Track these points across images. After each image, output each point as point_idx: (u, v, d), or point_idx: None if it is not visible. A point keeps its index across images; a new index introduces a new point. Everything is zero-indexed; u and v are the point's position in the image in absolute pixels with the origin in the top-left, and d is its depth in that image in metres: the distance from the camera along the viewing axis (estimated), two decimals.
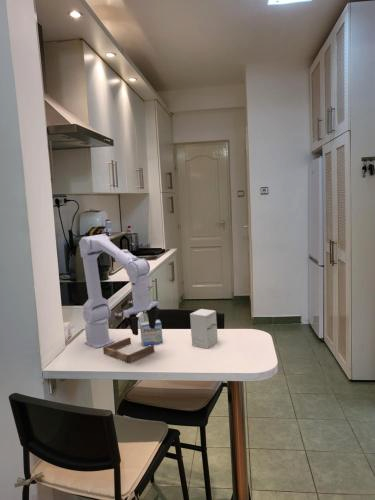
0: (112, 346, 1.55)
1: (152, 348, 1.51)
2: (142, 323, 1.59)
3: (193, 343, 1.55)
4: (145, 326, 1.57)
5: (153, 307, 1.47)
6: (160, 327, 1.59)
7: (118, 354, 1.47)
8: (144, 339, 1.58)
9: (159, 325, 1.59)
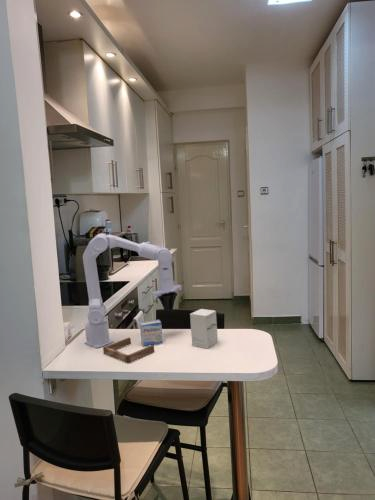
0: (112, 346, 1.55)
1: (152, 348, 1.51)
2: (142, 323, 1.59)
3: (193, 343, 1.55)
4: (145, 326, 1.57)
5: (176, 290, 1.68)
6: (160, 327, 1.59)
7: (118, 354, 1.47)
8: (144, 339, 1.58)
9: (159, 325, 1.59)
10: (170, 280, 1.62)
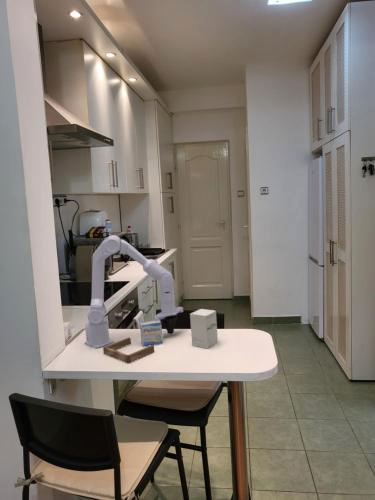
0: (112, 346, 1.55)
1: (152, 348, 1.51)
2: (142, 323, 1.59)
3: (193, 343, 1.55)
4: (145, 326, 1.57)
5: (178, 312, 1.69)
6: (160, 327, 1.59)
7: (118, 354, 1.47)
8: (144, 339, 1.58)
9: (159, 325, 1.59)
10: (172, 303, 1.64)
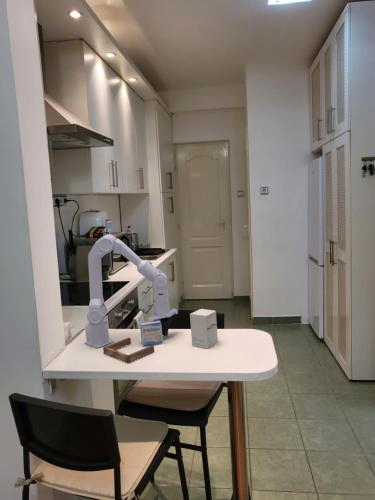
0: (112, 346, 1.55)
1: (152, 348, 1.51)
2: (142, 323, 1.59)
3: (193, 343, 1.55)
4: (145, 326, 1.57)
5: (173, 314, 1.67)
6: (160, 327, 1.59)
7: (118, 354, 1.47)
8: (144, 339, 1.58)
9: (159, 325, 1.58)
10: (166, 305, 1.62)
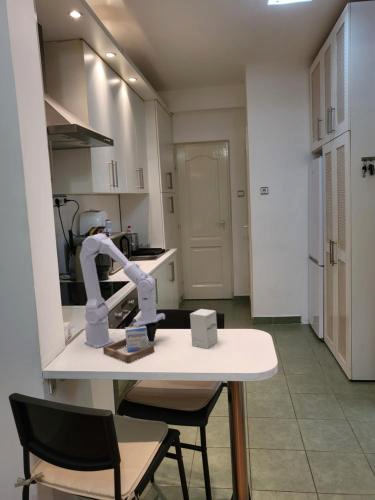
0: (112, 346, 1.55)
1: (152, 348, 1.51)
2: (127, 328, 1.54)
3: (193, 343, 1.55)
4: (129, 331, 1.52)
5: (159, 319, 1.62)
6: (145, 332, 1.54)
7: (118, 354, 1.47)
8: (128, 345, 1.53)
9: (144, 330, 1.53)
10: (152, 310, 1.56)
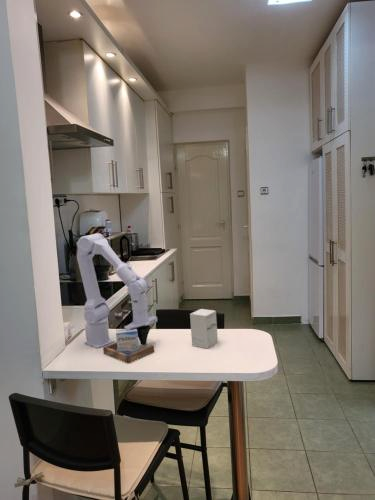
0: (112, 346, 1.55)
1: (152, 348, 1.51)
2: (118, 331, 1.52)
3: (193, 343, 1.55)
4: (119, 334, 1.50)
5: (152, 322, 1.59)
6: (136, 336, 1.51)
7: (118, 354, 1.47)
8: (119, 348, 1.50)
9: (135, 334, 1.51)
10: (144, 313, 1.54)
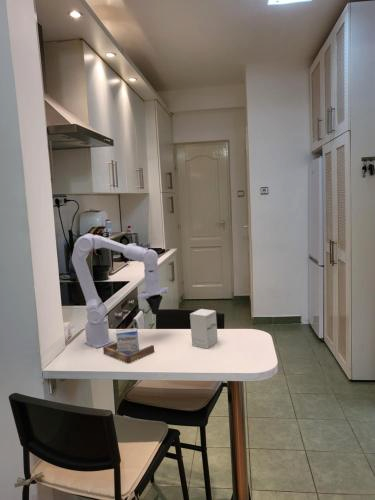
0: (112, 346, 1.55)
1: (152, 348, 1.51)
2: (118, 331, 1.52)
3: (193, 343, 1.55)
4: (119, 334, 1.50)
5: (163, 292, 1.66)
6: (136, 336, 1.51)
7: (118, 354, 1.47)
8: (119, 348, 1.50)
9: (135, 334, 1.51)
10: (156, 283, 1.60)
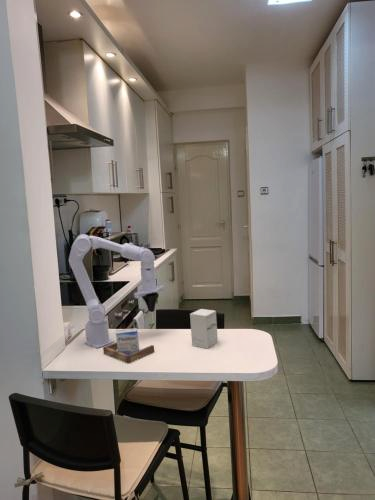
0: (112, 346, 1.55)
1: (152, 348, 1.51)
2: (118, 331, 1.52)
3: (193, 343, 1.55)
4: (119, 334, 1.50)
5: (159, 290, 1.69)
6: (136, 336, 1.51)
7: (118, 354, 1.47)
8: (119, 348, 1.50)
9: (135, 334, 1.51)
10: (152, 281, 1.64)
